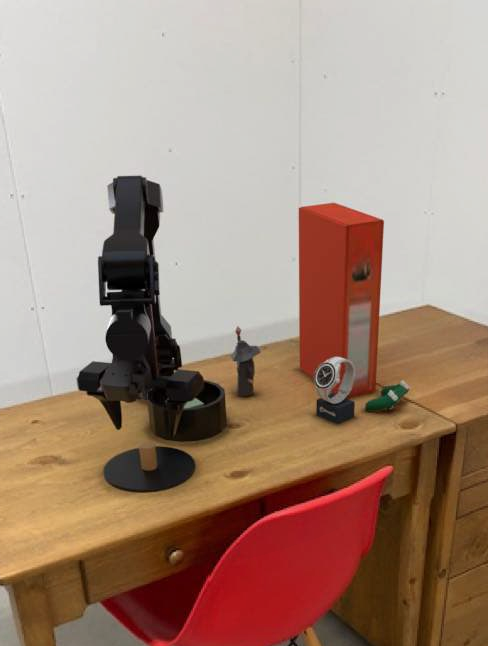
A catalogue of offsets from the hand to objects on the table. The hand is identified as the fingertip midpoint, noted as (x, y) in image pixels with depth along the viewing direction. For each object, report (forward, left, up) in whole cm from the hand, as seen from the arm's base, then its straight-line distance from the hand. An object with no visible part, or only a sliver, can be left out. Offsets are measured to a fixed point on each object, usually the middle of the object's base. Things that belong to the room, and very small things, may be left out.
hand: (145, 431), depth 125 cm
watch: (+11, +36, -8) cm, 38 cm away
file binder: (+1, +50, -8) cm, 50 cm away
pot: (-7, +16, -7) cm, 19 cm away
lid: (0, 0, -7) cm, 7 cm away
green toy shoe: (+16, +46, -8) cm, 49 cm away
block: (-7, +16, -7) cm, 19 cm away
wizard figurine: (-10, +34, -8) cm, 36 cm away
